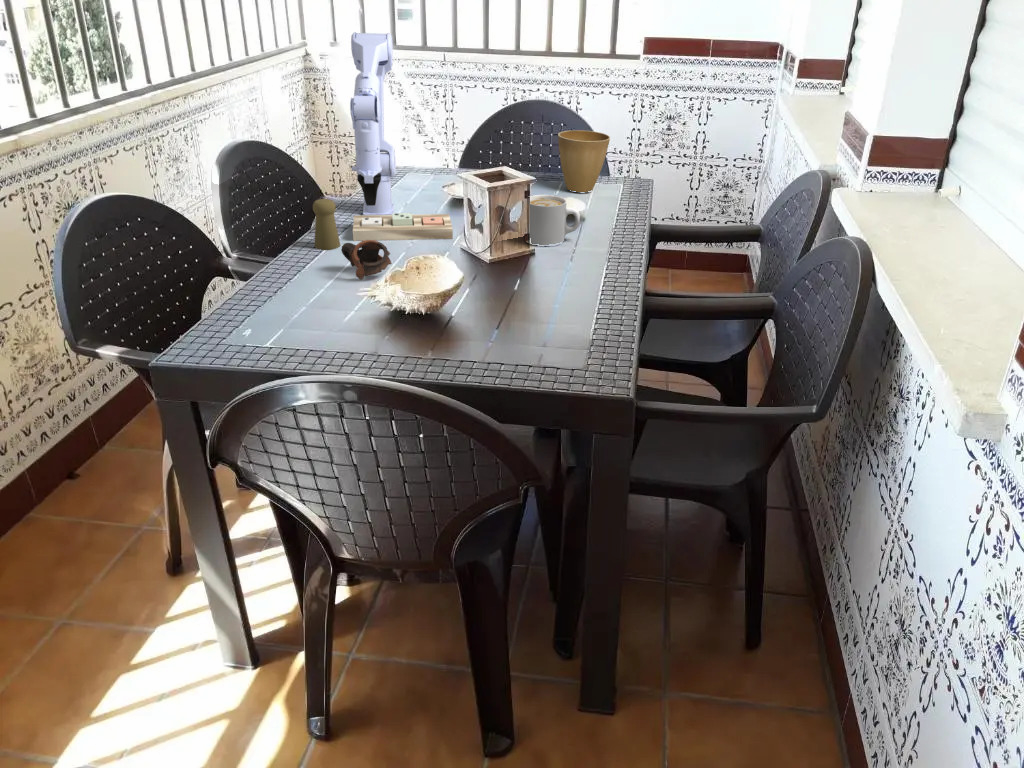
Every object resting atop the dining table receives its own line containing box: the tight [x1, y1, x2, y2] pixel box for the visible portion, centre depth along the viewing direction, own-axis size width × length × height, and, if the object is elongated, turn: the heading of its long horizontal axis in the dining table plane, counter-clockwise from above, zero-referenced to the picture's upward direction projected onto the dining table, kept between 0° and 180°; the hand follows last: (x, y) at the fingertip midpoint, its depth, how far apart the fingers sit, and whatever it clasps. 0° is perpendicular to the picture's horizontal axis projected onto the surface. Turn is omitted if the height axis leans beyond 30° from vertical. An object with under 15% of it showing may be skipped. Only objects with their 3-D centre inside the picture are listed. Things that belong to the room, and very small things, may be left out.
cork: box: [312, 198, 341, 251], centre depth 192 cm, size 6×6×11 cm
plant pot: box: [557, 129, 611, 192], centre depth 239 cm, size 15×15×16 cm
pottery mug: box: [340, 240, 392, 280], centre depth 179 cm, size 12×10×8 cm
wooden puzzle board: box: [352, 213, 454, 242], centre depth 204 cm, size 12×24×2 cm, turn 98°
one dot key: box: [423, 217, 443, 225], centre depth 205 cm, size 5×5×3 cm
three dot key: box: [392, 212, 413, 226], centre depth 204 cm, size 5×5×3 cm
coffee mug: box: [529, 194, 581, 245], centre depth 200 cm, size 13×10×10 cm
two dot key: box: [362, 218, 382, 226], centre depth 203 cm, size 5×5×3 cm
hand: (370, 204), depth 201 cm, fingers closed
